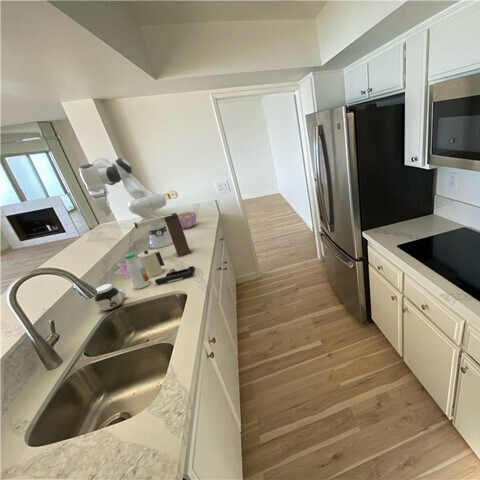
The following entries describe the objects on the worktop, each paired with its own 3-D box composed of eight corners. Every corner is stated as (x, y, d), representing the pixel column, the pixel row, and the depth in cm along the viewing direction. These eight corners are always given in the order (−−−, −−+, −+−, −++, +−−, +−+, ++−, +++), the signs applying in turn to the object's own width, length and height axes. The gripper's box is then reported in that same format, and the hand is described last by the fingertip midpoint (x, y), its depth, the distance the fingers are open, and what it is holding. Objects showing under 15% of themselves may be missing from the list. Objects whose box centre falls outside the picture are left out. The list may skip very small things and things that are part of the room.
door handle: (160, 270, 163) (153, 281, 148) (194, 262, 168) (191, 272, 153) (162, 275, 164) (155, 286, 149) (196, 267, 169) (193, 277, 154)
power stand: (176, 252, 193) (163, 215, 181) (188, 249, 197) (175, 212, 185) (178, 257, 185) (164, 218, 174) (190, 253, 189) (177, 215, 178)
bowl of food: (176, 232, 236) (172, 220, 231) (176, 227, 252) (172, 215, 248) (200, 226, 244) (196, 215, 240) (198, 221, 261) (194, 210, 256)
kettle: (142, 280, 158) (132, 257, 152) (141, 274, 166) (131, 252, 159) (166, 272, 165) (158, 249, 159) (165, 267, 172) (156, 245, 166)
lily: (115, 282, 162) (113, 272, 156) (118, 268, 170) (117, 257, 164) (138, 281, 168) (137, 271, 162) (141, 267, 175) (140, 257, 170)
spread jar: (100, 314, 130) (89, 295, 125) (101, 304, 138) (91, 285, 134) (129, 304, 136) (119, 284, 131) (128, 294, 144) (119, 276, 140)
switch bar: (135, 227, 172) (133, 222, 170) (172, 218, 182) (171, 213, 181) (136, 228, 169) (134, 223, 168) (173, 219, 180) (171, 214, 179)
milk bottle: (143, 289, 148) (129, 257, 140) (131, 288, 150) (117, 257, 142) (153, 281, 155) (140, 251, 147) (142, 281, 157) (129, 251, 149)
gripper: (94, 191, 165) (103, 212, 170) (90, 195, 149) (101, 218, 154) (106, 189, 168) (115, 210, 173) (103, 193, 152) (114, 215, 157)
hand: (108, 214), depth 164 cm, fingers open, 8 cm apart
